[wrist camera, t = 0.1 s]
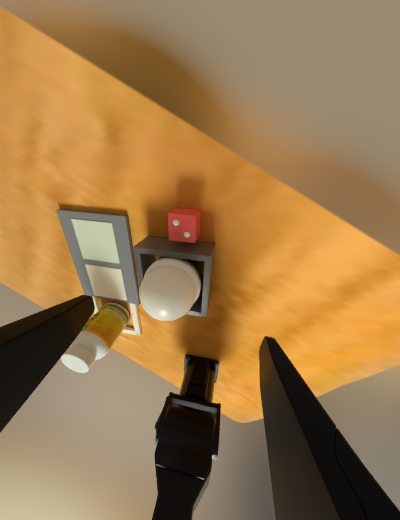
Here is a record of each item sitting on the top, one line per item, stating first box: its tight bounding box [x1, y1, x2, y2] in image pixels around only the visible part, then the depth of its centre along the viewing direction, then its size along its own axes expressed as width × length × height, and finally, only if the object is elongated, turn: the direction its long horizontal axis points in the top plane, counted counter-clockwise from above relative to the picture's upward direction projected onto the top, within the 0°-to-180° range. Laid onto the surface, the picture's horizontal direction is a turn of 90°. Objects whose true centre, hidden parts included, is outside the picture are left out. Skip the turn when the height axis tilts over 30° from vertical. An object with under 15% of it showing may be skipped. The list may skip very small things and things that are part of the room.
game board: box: [56, 209, 142, 336], centre depth 28 cm, size 22×10×1 cm, turn 177°
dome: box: [139, 256, 202, 321], centre depth 20 cm, size 7×7×6 cm
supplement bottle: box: [61, 302, 130, 373], centre depth 27 cm, size 5×5×10 cm
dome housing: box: [133, 208, 215, 318], centre depth 22 cm, size 13×9×4 cm
